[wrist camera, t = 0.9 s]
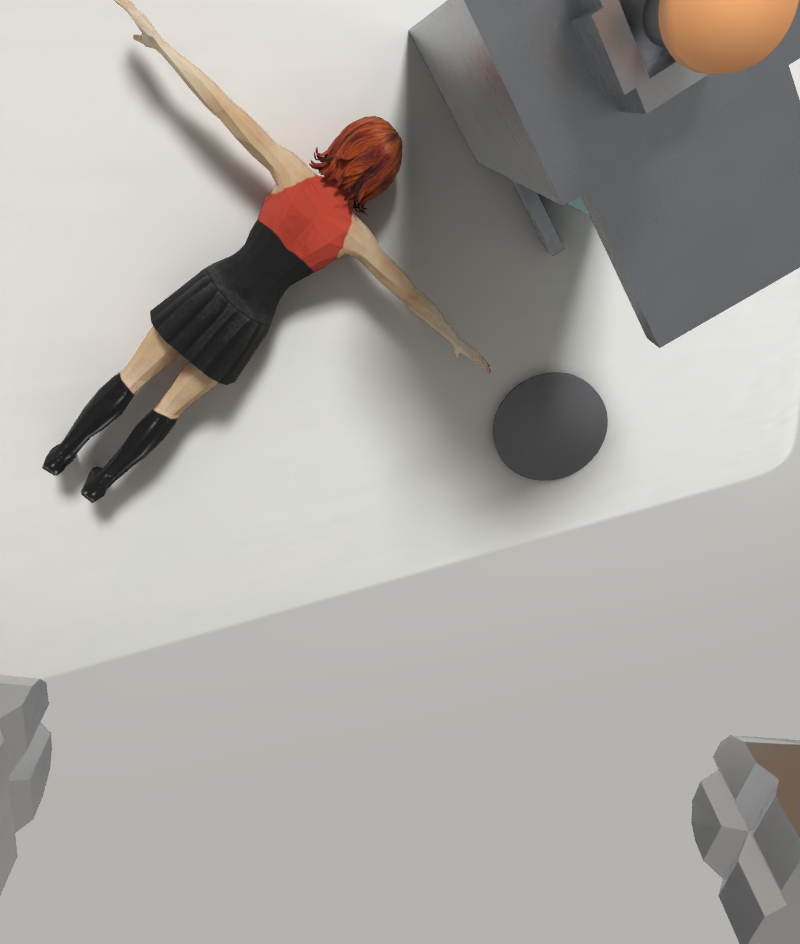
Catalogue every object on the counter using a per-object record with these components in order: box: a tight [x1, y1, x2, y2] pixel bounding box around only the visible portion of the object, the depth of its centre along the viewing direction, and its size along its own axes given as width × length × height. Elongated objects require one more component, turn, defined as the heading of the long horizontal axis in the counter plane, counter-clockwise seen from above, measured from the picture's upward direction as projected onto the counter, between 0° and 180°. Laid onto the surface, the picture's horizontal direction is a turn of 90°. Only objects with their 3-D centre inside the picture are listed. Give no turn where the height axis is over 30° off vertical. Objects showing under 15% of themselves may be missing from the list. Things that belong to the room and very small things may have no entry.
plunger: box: [642, 0, 799, 74], centre depth 22 cm, size 3×3×4 cm
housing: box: [408, 0, 800, 348], centre depth 35 cm, size 10×15×22 cm, turn 31°
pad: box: [493, 373, 607, 480], centre depth 54 cm, size 8×8×1 cm
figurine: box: [42, 0, 491, 503], centre depth 46 cm, size 29×6×30 cm
